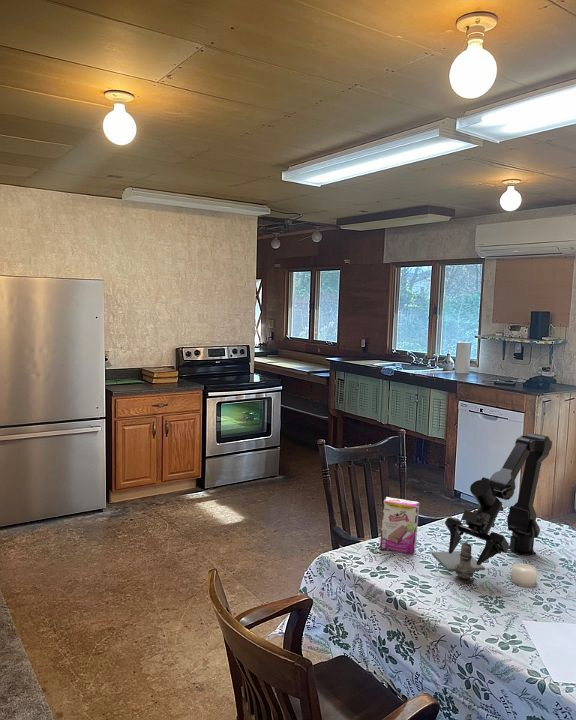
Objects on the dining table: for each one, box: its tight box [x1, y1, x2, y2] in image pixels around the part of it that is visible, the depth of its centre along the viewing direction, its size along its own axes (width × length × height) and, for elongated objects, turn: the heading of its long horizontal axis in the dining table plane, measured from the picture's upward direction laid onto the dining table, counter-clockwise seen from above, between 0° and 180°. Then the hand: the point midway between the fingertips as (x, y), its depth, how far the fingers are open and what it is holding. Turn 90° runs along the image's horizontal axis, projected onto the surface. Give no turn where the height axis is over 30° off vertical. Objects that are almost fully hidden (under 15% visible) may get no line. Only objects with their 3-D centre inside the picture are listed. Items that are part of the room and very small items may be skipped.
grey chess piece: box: [453, 540, 476, 585], centre depth 171 cm, size 6×6×12 cm
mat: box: [431, 550, 486, 572], centre depth 184 cm, size 12×12×1 cm
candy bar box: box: [379, 496, 420, 556], centre depth 190 cm, size 11×5×16 cm, turn 71°
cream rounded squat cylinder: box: [510, 562, 538, 588], centre depth 173 cm, size 7×7×4 cm
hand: (463, 558), depth 170 cm, fingers open, 9 cm apart
